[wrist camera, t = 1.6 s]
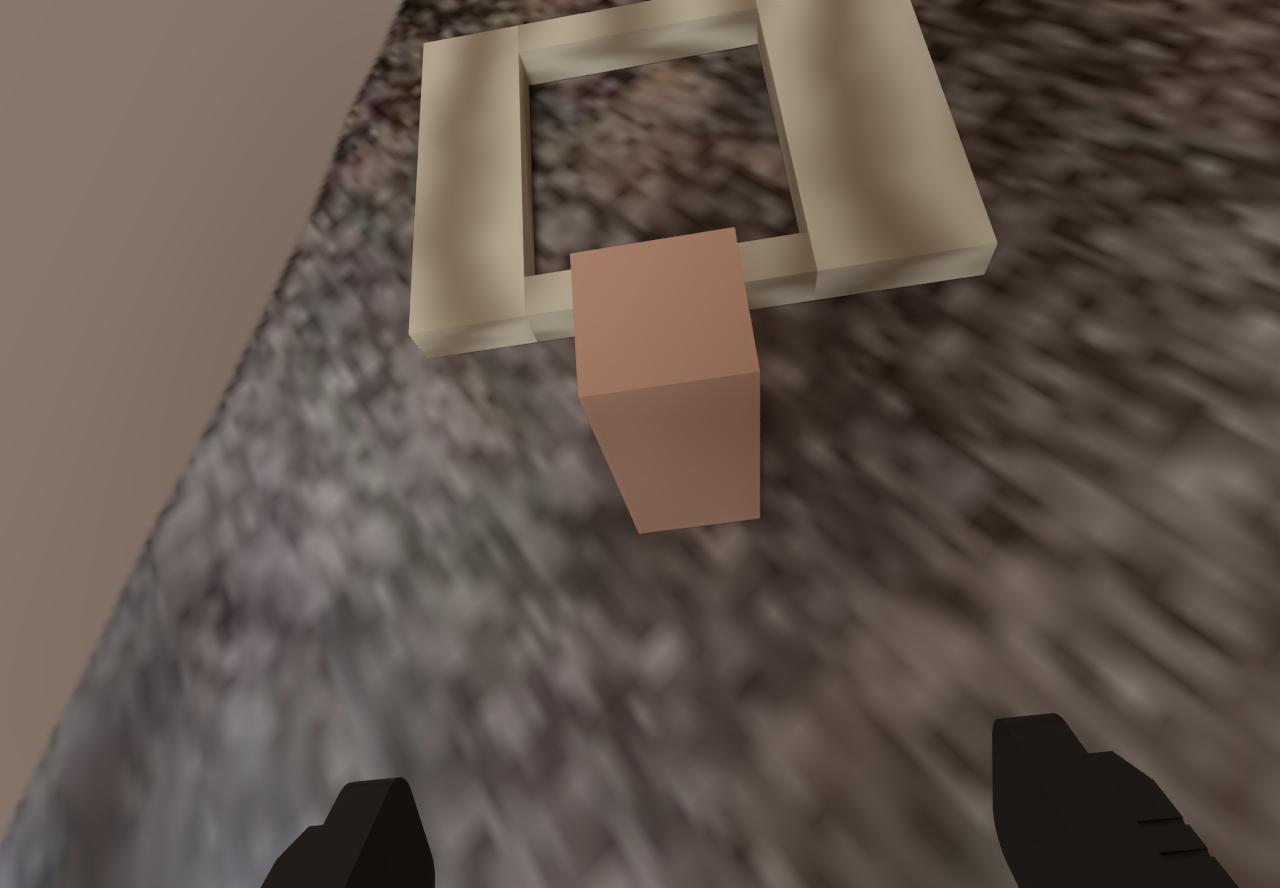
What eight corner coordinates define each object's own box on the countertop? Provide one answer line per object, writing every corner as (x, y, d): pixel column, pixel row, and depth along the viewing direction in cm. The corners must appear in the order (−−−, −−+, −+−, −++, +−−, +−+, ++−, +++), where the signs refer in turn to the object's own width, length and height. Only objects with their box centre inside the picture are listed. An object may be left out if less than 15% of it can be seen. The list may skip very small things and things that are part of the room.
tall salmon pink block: (742, 410, 31) (734, 227, 21) (760, 518, 29) (759, 371, 19) (629, 426, 31) (570, 253, 22) (639, 533, 29) (578, 397, 20)
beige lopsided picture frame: (887, -7, 40) (893, -46, 38) (984, 274, 32) (997, 243, 30) (438, 75, 42) (423, 43, 40) (427, 358, 34) (408, 333, 32)
